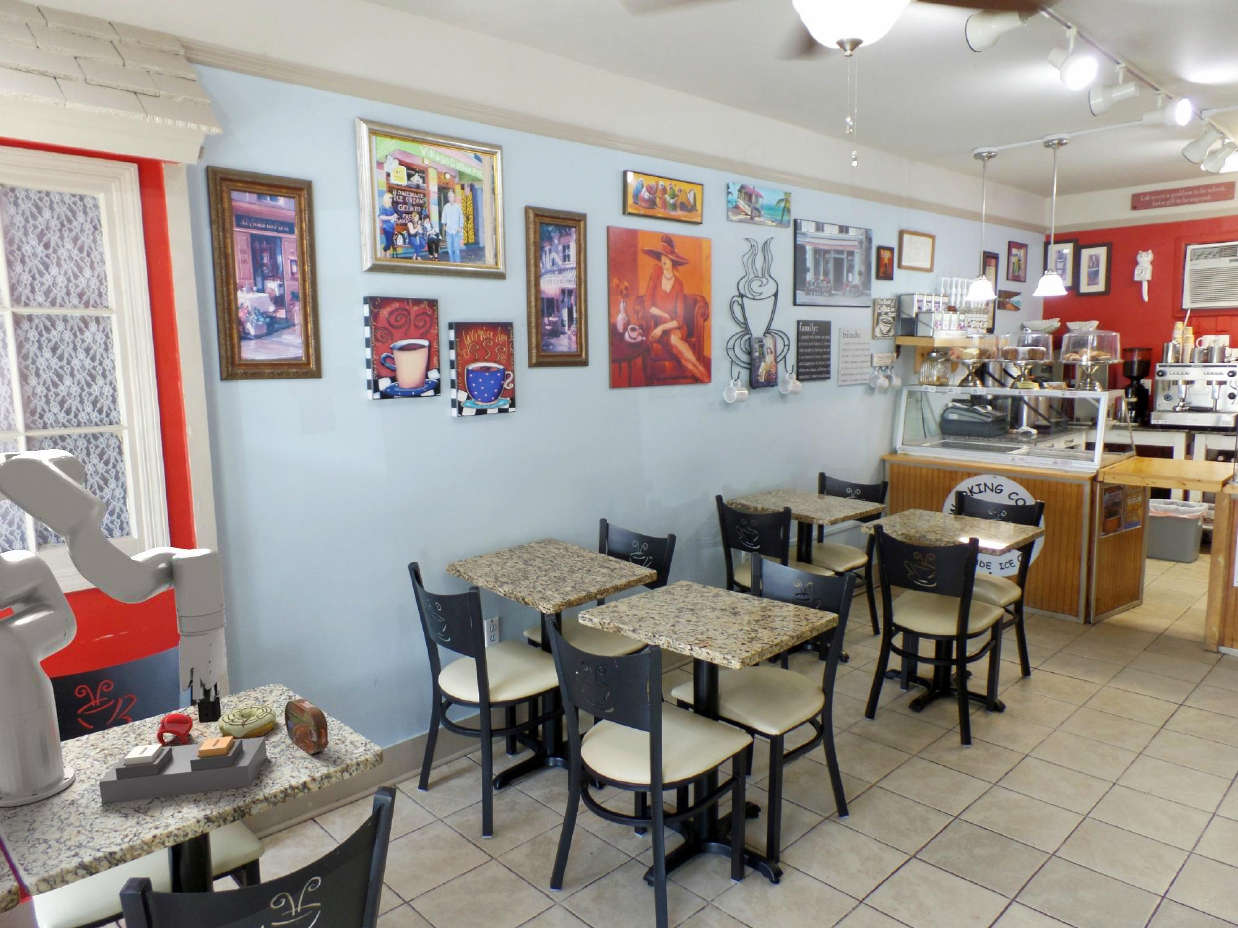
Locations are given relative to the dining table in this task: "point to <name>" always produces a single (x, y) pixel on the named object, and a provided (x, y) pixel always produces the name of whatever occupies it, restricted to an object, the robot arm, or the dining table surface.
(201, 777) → the grey button panel
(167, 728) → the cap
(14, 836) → the dining table surface
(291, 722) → the tin
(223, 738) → the orange button
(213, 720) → the robot arm
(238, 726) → the decorated donut
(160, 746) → the cream button
